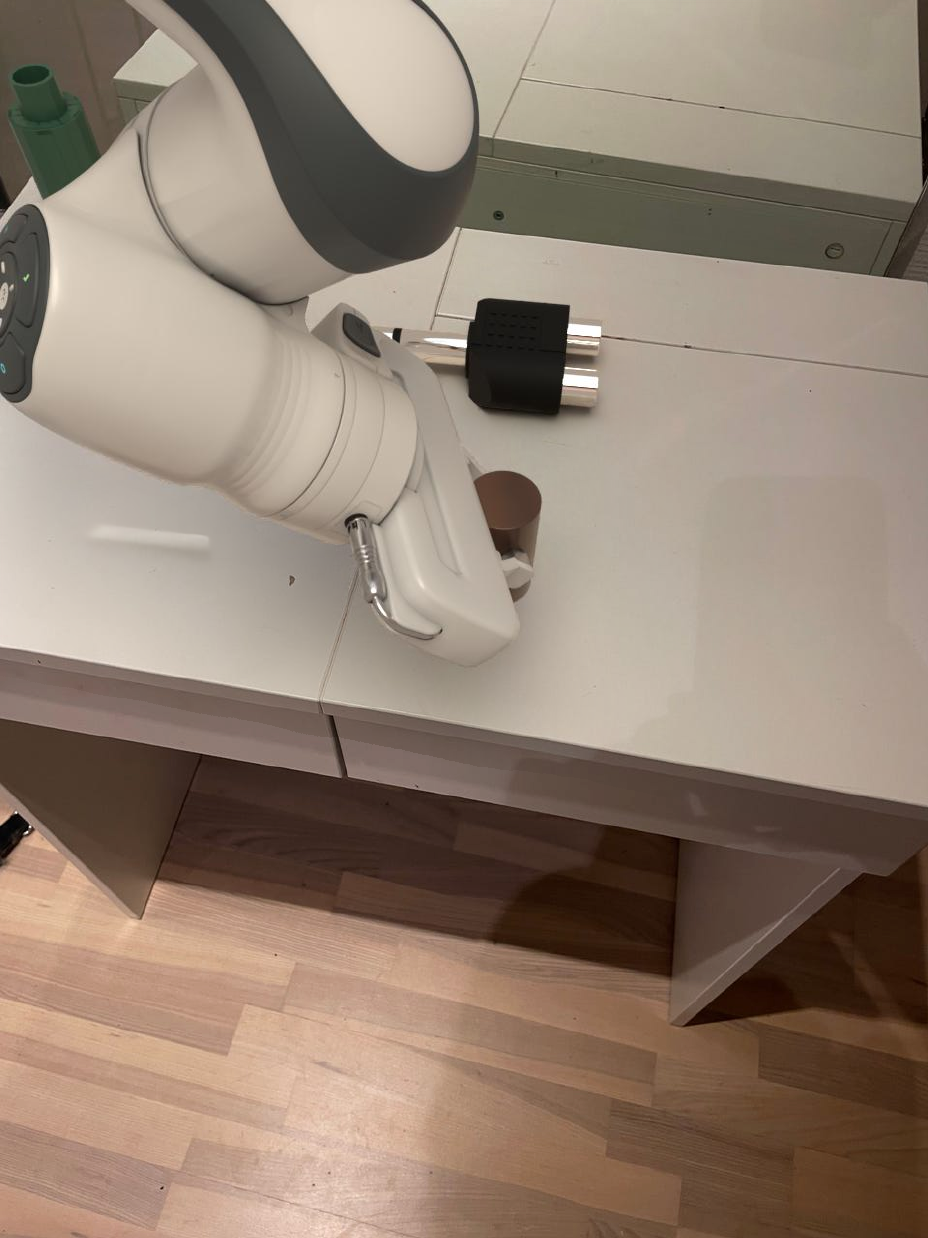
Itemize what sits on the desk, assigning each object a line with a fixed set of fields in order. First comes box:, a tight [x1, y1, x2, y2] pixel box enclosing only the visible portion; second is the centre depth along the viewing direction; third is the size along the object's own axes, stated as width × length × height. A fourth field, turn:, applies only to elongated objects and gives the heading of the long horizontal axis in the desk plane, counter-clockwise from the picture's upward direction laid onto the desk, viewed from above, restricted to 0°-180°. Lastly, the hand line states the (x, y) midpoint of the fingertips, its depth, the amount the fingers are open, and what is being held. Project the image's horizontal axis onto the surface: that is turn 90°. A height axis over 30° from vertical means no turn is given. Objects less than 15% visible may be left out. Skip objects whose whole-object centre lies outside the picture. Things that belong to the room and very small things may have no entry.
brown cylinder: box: [473, 470, 543, 604], centre depth 53 cm, size 4×4×8 cm
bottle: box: [6, 62, 102, 201], centre depth 81 cm, size 6×6×15 cm
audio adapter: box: [370, 297, 603, 415], centre depth 76 cm, size 11×5×25 cm
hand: (510, 534), depth 53 cm, fingers closed on brown cylinder, 4 cm apart
